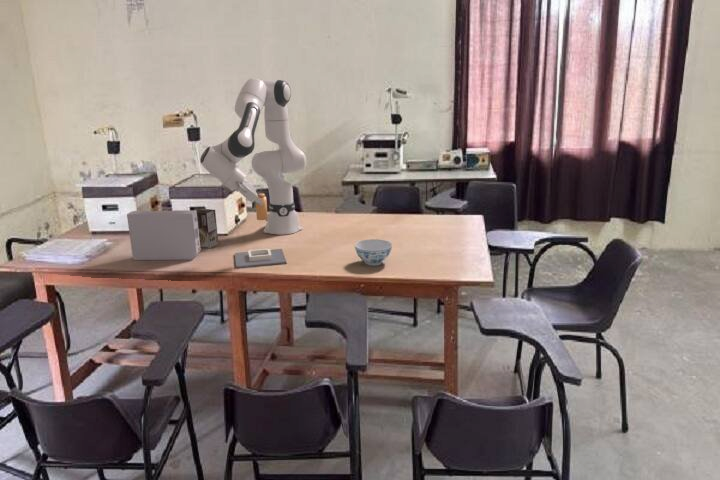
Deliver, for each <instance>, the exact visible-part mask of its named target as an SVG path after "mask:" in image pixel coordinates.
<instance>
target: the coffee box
mask: <svg viewBox="0 0 720 480" xmlns="http://www.w3.org/2000/svg"><path fill="white" fill-rule="evenodd" d="M195 210H196V211H197V220H198V230H199V240H200V248H209V249H211V248H213V247H215V246H218V245H219V237H218V224H217V215H216V209H208V208H200V207H199V208H197V209H195Z"/></svg>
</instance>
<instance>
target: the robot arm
mask: <svg viewBox="0 0 720 480" xmlns="http://www.w3.org/2000/svg"><path fill="white" fill-rule="evenodd" d="M291 96H292V91H291V86H290V85H289V83H288V82H287V81H286V80H281V79H276V80H275V79H263V80H261V79H259V78H257V77H252V78H249V79H247V80H246V81H245V83H243V86H242V87H241V89H240V91H239V93H238V95H237V97H236V101H235V106H234V112H235V114H236V116H238V117H239V118H240V122H239V124H238V125H239V126H238V128H237V129H235V130H234V131H233V132H232V133H231V135H229V136H228V138H226V139H225V140H224V141H223V142H220V143H219V144H216V145H213V146H208V147H206V149H204V151H203V152H202V154H201V155H200V161H199V162H200V164H201V165H202V167H203V168H204V169H205V170H206V172H208V173H209V174H210V175H211V176H212V177H214V178H216V179H218V180H219V181H220V183H221V184H222V185H223V186H225V187H226V188H227V189H228V190H229V191H230V192H235V191H236V192H237V193H238V192H239V194H240V195H242V196H243V197H244V198H245V199H246V200H247V201H249V202H250V203H254V202H255V203H256V202H257V203H259V204H260V205H261V206H262V205H263V204H264V201H263V200H261V199H260V198H259V197H258V195H257V194H258V193H257V189H256V188H255V186H254V184H252V183H251V181H250V180H248V179H247V173H245V172H244V171H243V170H242V169H240V167H238V166H237V165H236V164H237V163H239V162H240V161H242V160H243V159H244V158H245V157H247V156H249V155H250V154H252V153H253V151H254V150H255V144H256V143H255V132H256V129H257V125H258V123H259V122H258V121H259V119H260V115H261V113H262V110H263V108H264V112H263V115H264V131H265V137H266V139H267V140H268V141H270V142H272V143H273V144H275V145H277V146H278V150H265V151H260V152H258V153H255V154H253V156H252V158H251V167H252V170H253V171H254V172H255V174H257V175H258V176H259V177H261V178H262V179H263V180H264V181H265V183H266V186H267V189H268V194H269V203H268V204H269V206H268V208H269V212H268V213H267V214H268V219H266V220H265V222H266V225H265V227H264V229H263V233H264V234H265V233H266V234H271V235H277V236H278V235H282V236H283V235H290V234H295V233H297V232H299V231H303V229H304V226H301V225H300V221H299V219H300V218H299V214H298V213H299V212H298V211H296V210H295V209H296V206H295V201H294V192H293V191H294V190H293V186H292V184H291V183H290V182H289V181H286V180H284V179H281V178H280V175H281V174H291V173H292V174H293V173H297V172H300V171H303V170H304V169H305V168H306V166H307V162H308V161H307V156H306V154H305V152H304V151H302V150H301V149H300V148H299V147H298V146H297V145H296V144H295V143H294V141H293V140H292V139H293V138H292V137H291V136H292V135H291V131H290V119H289V110H288V109H289V108H288V105H287V104H288V103H289V102H290V99H291Z"/></svg>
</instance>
